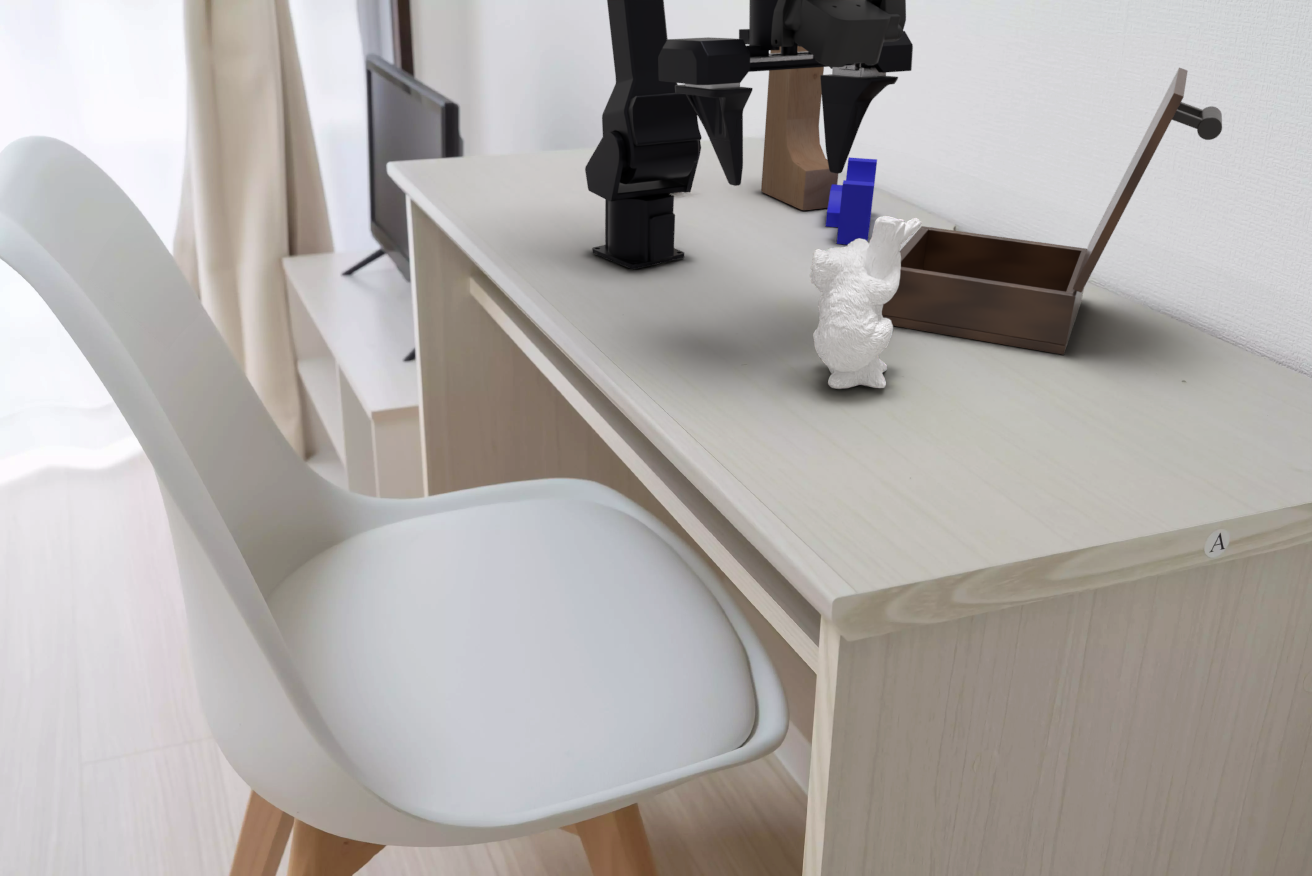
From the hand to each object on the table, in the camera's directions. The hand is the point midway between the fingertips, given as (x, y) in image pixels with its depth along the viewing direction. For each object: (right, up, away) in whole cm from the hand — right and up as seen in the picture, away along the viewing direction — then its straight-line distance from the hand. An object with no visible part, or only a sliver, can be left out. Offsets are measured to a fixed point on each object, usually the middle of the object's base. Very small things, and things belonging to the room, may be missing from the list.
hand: (786, 179), depth 83 cm
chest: (+18, -9, +11) cm, 23 cm away
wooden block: (+6, +7, +43) cm, 44 cm away
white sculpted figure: (+4, -15, -2) cm, 16 cm away
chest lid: (+26, +1, +2) cm, 27 cm away
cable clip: (+10, +2, +34) cm, 35 cm away
